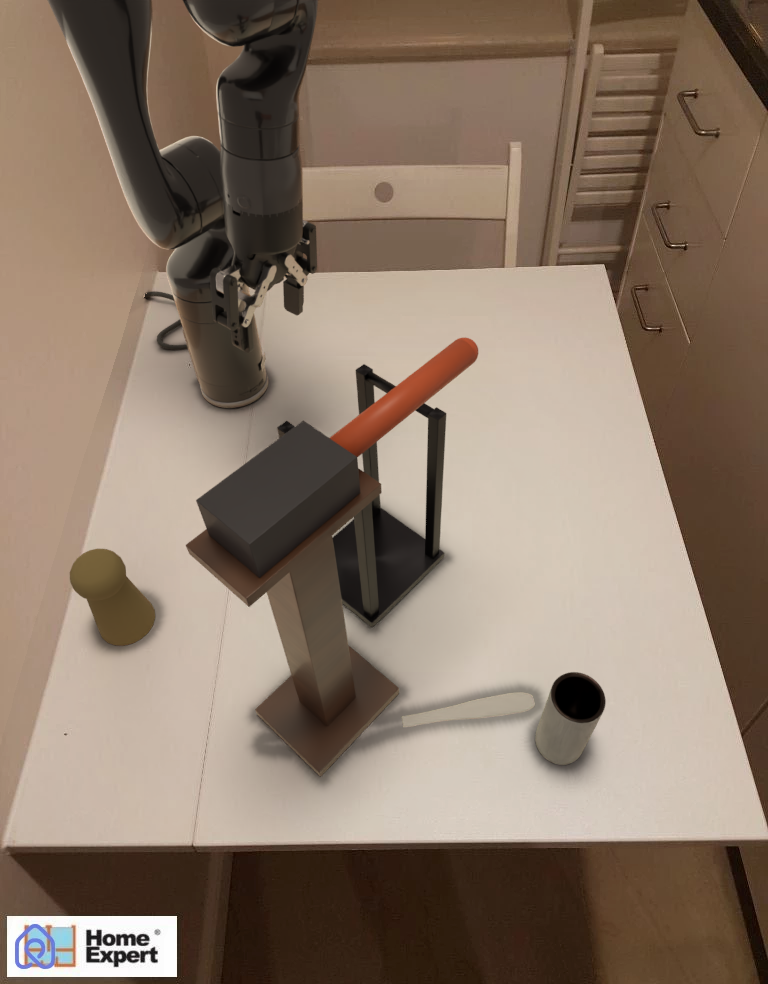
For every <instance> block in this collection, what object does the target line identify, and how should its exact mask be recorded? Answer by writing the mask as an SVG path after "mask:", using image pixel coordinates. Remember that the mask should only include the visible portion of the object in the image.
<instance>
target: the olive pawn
mask: <svg viewBox="0 0 768 984" xmlns="http://www.w3.org/2000/svg"><path fill="white" fill-rule="evenodd" d="M69 582H70V583H69V584H70V585H71V588H72V589H73V590H74V592H75V593H76V594H77V595H79V596H80V597H81V598H83V599H85V600H86V602H87V603H88V604H87V605H88V607H89V609H90V611H91V614H92V617H93V619H94V622H95V624H96V627H97V630H98V632H99V634H100V636H101V638H102V640H104V642H106V643H107V644H110V645H113V646H119V647H120V646H128V645H133V644H135V643H136V642H139V641H140V640H142V639H143V638H144V637H145V636H147V634H149V633H150V631H151V629H152V628H153V626H154V623H155V619H156V610H155V607H154V606H153V604H152V603H151V601H150V600H149V599H148V598H147V597H146V596H145V594H143V593H142V591H141V590H140V589H139V588H138V587H137V586H136V585H135V584H134V582H132V580H131V579H130V578H129V577H128V576H127V567H126V564H125V562H124V561H123V559H122V557H121V556H120V555H118V554H117V553H116V552H114V551H113V550H110V549H108V548H93V549H89V550H87V551H85V552H84V553H82V554H81V555H79V556H78V557H76V559H75V560H74V562H73V563H72V565H71V568H70V570H69Z"/></svg>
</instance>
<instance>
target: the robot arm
mask: <svg viewBox="0 0 768 984" xmlns="http://www.w3.org/2000/svg"><path fill="white" fill-rule="evenodd" d="M47 3H48V4H49V7H50V9H51V11H52V13H53V16H54V17H55V20H56V22H57V24H58V27H59V28H60V31H61V32H62V35H63V37H64V40H65V43H66V44H67V46H68V48H69V49H68V50H69V51H70V53H71V56H72V58H73V60H74V62H75V65H76V67H77V70H78V73H79V74H80V77H81V79H82V82H83V84H84V87H85V89H86V92H87V94H88V97H89V99H90V101H91V104H92V107H93V110H94V112H95V115H96V118H97V120H98V124H99V127H100V130H101V133H102V136H103V139H104V141H105V144H106V147H107V150H108V153H109V156H110V158H111V159H110V160H111V161H112V165H113V168H114V171H115V174H116V177H117V179H118V183H119V185H120V187H121V190H122V194H123V196H124V198H125V200H126V203H127V206H128V207H129V210H130V211H131V214H132V216H133V218H134V220H135V221H136V223H137V225H138V227H139V228H140V229H141V231H142V233H144V235H145V236H146V237H147V238H148V239H149V240H150V242H152V244H154V245H156V246H157V247H159V248H160V249H163V250H169V251H171V250H173V252H172V253H171V254H170V255H169V258H168V260H167V262H166V267H165V272H166V278H167V281H168V284H169V287H170V291H171V294H170V293H167V292H162V291H155V290H154V291H153V290H152V291H147V292H145V293H144V294H145V297H144V298H143V299H148V298H151V297H159V298H164V299H167V300H170V301H173V302H174V303H175V307H176V310H177V313H178V317H179V319H178V320H177V321H175V322H173V323H171V324H170V325H168V326H167V327H165V328H164V329H162V330H161V331H160V332H159V333H158V335H157V336H156V343H157V345H158V346H159V347H161V348H162V349H165V350H168V351H170V350H171V351H182V350H188V354H189V357H190V360H191V363H192V366H193V370H194V373H195V376H196V379H197V383H198V384H199V388H200V391H201V395H202V397H203V398H204V399H205V400H206V401H207V402H208V403H210V404H211V405H213V406H215V407H219V408H223V409H234V408H242V407H245V406H247V405H250V404H252V403H254V402H255V401H257V400H259V399H260V398H261V397H262V396H263V395H264V394H265V392H266V391H267V389H268V387H269V376H268V372H267V370H266V369H267V368H266V365H265V364H266V360H267V357H266V353H265V351H264V352H263V350H262V344H261V340H260V336H259V331H258V326H257V320H256V317H255V311H256V309H257V308H260V307H261V306H262V305H263V303H264V299H265V298H266V297H265V296H266V294H267V292H269V291H270V290H272V288H273V287H274V286H275V285H278V284H280V283H281V282H282V287H283V288H282V289H283V308H284V310H285V311H287V312H288V313H291V314H293V315H295V316H299V315H301V314H302V313H303V311H304V302H305V298H304V297H305V295H304V294H305V285H306V284H307V283H308V275H309V274H311V275H314V274H315V273H316V272H317V269H318V247H317V245H318V244H317V243H318V242H317V227H316V226H317V225H316V224H314V223H311V222H309V221H307V220H306V219H304V218H303V217H304V211H303V210H304V209H303V207H304V202H303V201H304V198H303V197H304V193H303V192H304V190H303V189H304V188H303V187H304V185H303V183H304V182H303V180H304V178H303V175H304V173H303V172H304V171H303V161H302V155H301V146H300V145H301V144H300V142H301V141H300V139H301V137H300V134H301V133H300V129H301V128H300V93H301V88H302V85H303V82H304V78H305V75H306V71H307V66H308V61H309V57H310V52H311V47H312V42H313V38H314V33H315V28H316V23H317V16H318V8H319V0H182V3H183V5H184V7H185V9H186V11H187V13H188V14H189V15H190V18H191V19H192V20H193V22H194V23H195V24H196V25H197V26H198V27H199V29H200V30H201V31H202V32H203V33H204V34H206V35H207V36H208V37H209V38H211V39H213V40H214V41H216V42H217V43H219V44H221V45H224V46H227V47H231V48H232V47H233V48H234V47H235V48H236V47H237V48H239V47H242V50H241V52H240V54H239V55H238V56H237V58H236V59H235V60H234V61H233V62H231V63H230V64H228V65H227V67H225V68H224V69H223V70H222V72H221V73H220V75H219V76H218V78H217V81H216V88H215V89H216V90H215V96H216V111H217V119H218V131H219V143H220V149H219V148H218V147H217V146H216V145H215V144H214V143H213V142H212V141H210V140H209V139H207V138H205V137H202V136H197V135H191V136H190V135H189V136H186V137H184V138H182V139H179V140H177V141H176V142H174V143H173V142H172V143H171V144H169V145H167V146H165V147H163V148H161V149H160V148H159V145H158V143H157V139H156V135H155V132H154V128H153V124H152V120H151V114H150V107H149V100H148V99H149V98H148V78H149V67H150V57H151V47H152V35H153V34H152V33H153V12H154V11H153V0H47ZM304 255H305V256H306V257H304ZM250 289H252V290H254V292H253V294H252V295H251V291H250ZM146 293H147V294H146ZM180 326H182V329H181V330H182V335H183V338H184V341H185V344H168V343H165V342H163V338H164V336H166V335H167V334H168V333H170V332H171V331H173V330H174V329H176V328H178V327H180Z"/></svg>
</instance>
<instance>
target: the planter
mask: <svg viewBox="0 0 768 984" xmlns="http://www.w3.org/2000/svg"><path fill="white" fill-rule="evenodd" d="M606 702H607V700H606V694H605V692H604V690H603V688H602V686H601V685H600V684H599V683H598V682H597V680H596V679H594V678H593V677H591V676H590V675H588V674H586V673H583V672H578V671H577V672H576V671H571V672H566V673H563V674H562V675H559V676H558V677H556V679H555V680H554V682H553V683H552V685H551V688H550V690H549V694H548V696H547V699H546V702H545V705H544V708H543V710H542V713H541V716H540V719H539V721H538V724H537V727H536V731H535V735H534V736H535V737H534V740H535V746H536V748H537V750H538V752H539V753H540V755H541V756H542V757H543V759H546V760H547V761H548V762H550V763H552V764H555V765H558V766H565V765H570V764H572V763H574V762H576V761H577V760H578V759H579V758H580V757H581V755H582V754H583V752H584V751H585V748H586V746H587V745H588V742H589V740H590V739H591V736H592V735H593V733H594V732H595V729H596V728H597V725H598V723H599V721H600V720H601V717H602V716H603V713H604V711H605V708H606Z"/></svg>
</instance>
